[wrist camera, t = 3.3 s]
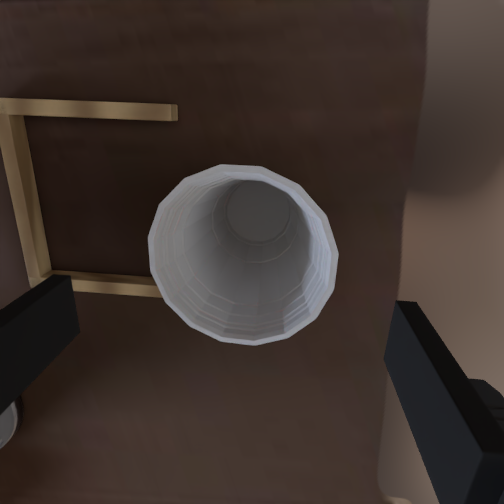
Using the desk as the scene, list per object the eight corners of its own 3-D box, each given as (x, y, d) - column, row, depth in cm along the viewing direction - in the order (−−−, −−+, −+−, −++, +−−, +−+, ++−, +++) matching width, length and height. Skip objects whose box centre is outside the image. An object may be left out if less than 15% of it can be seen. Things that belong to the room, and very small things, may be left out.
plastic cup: (205, 130, 29) (154, 141, 18) (336, 162, 29) (367, 193, 18) (184, 252, 33) (132, 324, 22) (299, 280, 33) (306, 367, 22)
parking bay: (42, 279, 35) (30, 288, 33) (6, 98, 29) (-11, 97, 27) (184, 290, 34) (179, 299, 32) (177, 104, 28) (170, 104, 26)
